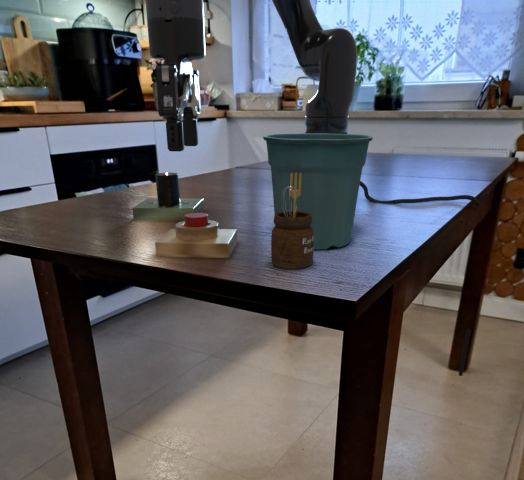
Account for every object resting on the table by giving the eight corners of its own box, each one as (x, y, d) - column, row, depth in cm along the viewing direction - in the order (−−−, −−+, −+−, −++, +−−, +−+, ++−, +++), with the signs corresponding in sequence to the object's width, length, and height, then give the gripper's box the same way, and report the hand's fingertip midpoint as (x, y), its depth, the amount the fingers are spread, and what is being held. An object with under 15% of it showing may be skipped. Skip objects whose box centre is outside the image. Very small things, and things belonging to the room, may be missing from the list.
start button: (210, 224, 81) (210, 212, 80) (206, 229, 78) (205, 217, 77) (188, 223, 81) (187, 212, 80) (182, 229, 78) (181, 217, 77)
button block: (237, 242, 85) (236, 217, 83) (228, 258, 76) (227, 231, 75) (171, 241, 86) (169, 217, 84) (156, 257, 77) (153, 230, 76)
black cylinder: (160, 200, 105) (158, 170, 103) (182, 200, 105) (179, 170, 102) (155, 204, 101) (152, 173, 99) (177, 204, 101) (175, 173, 98)
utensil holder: (268, 269, 71) (267, 179, 66) (274, 257, 77) (274, 172, 71) (311, 271, 70) (314, 179, 65) (314, 258, 76) (317, 172, 70)
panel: (204, 210, 108) (203, 197, 107) (194, 221, 99) (193, 207, 98) (148, 210, 109) (147, 197, 108) (133, 220, 100) (131, 206, 99)
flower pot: (315, 225, 95) (318, 130, 88) (385, 242, 84) (396, 134, 76) (243, 239, 86) (241, 135, 79) (311, 261, 74) (315, 141, 67)
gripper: (163, 25, 75) (172, 144, 82) (129, 10, 63) (143, 152, 70) (214, 24, 74) (218, 145, 82) (190, 9, 62) (197, 153, 69)
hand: (183, 148), depth 76 cm, fingers open, 8 cm apart
